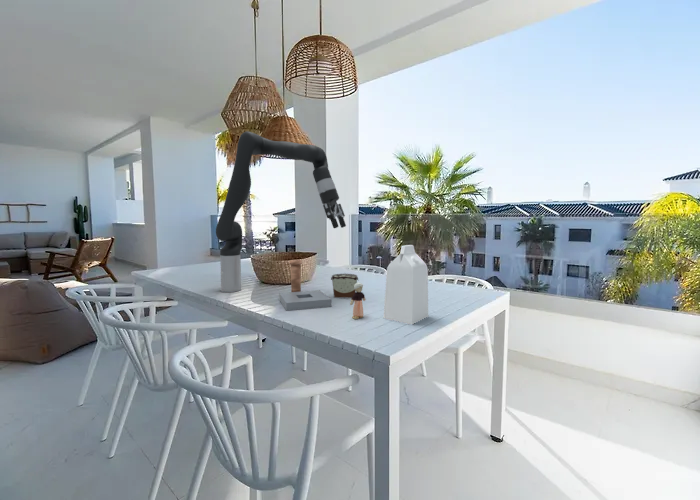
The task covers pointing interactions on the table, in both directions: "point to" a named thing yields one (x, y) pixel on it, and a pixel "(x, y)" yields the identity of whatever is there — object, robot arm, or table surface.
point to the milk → (406, 288)
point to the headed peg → (295, 275)
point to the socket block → (304, 300)
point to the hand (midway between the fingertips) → (340, 227)
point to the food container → (344, 285)
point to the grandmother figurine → (358, 301)
